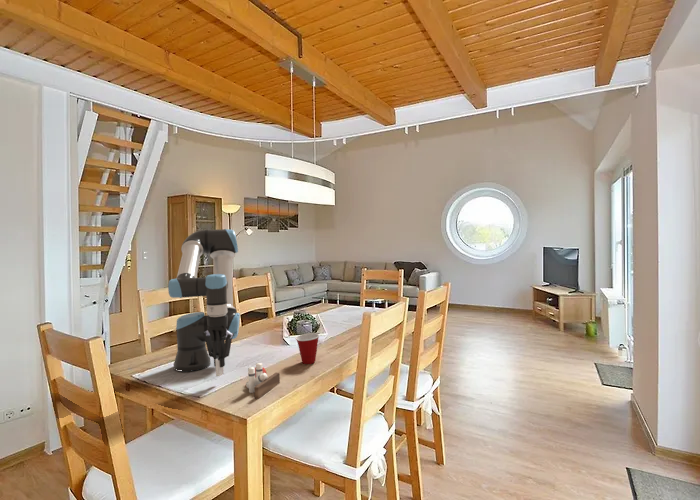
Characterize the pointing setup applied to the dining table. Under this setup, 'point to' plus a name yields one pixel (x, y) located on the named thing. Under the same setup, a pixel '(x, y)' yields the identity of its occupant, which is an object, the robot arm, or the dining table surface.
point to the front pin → (258, 379)
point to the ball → (263, 371)
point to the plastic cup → (308, 347)
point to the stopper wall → (267, 385)
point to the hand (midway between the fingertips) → (219, 374)
